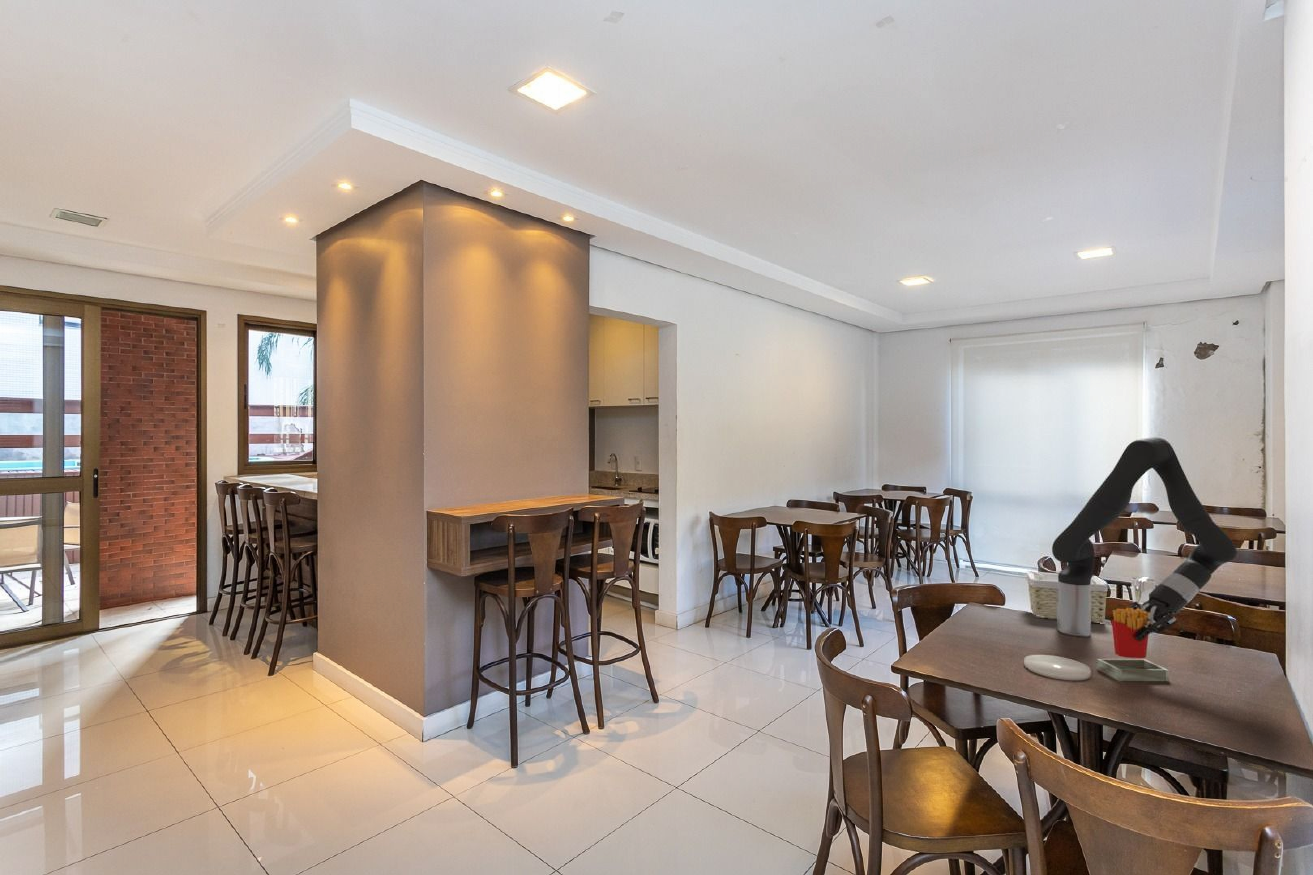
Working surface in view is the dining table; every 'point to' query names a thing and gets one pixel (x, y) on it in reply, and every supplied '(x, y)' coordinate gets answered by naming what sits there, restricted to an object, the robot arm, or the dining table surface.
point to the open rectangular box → (1132, 670)
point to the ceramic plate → (1057, 667)
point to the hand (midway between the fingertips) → (1130, 635)
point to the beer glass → (1142, 589)
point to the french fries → (1129, 632)
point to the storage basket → (1046, 595)
